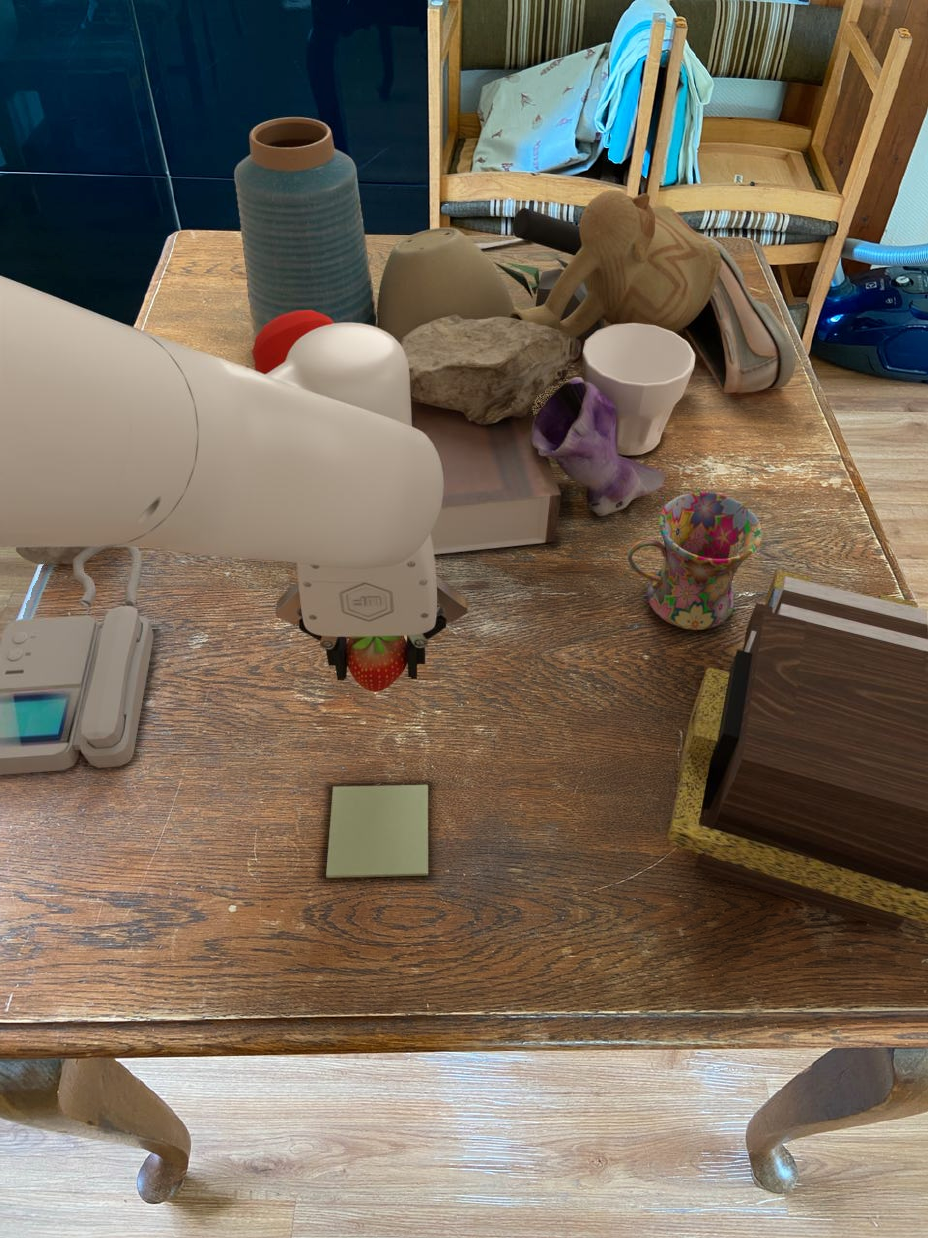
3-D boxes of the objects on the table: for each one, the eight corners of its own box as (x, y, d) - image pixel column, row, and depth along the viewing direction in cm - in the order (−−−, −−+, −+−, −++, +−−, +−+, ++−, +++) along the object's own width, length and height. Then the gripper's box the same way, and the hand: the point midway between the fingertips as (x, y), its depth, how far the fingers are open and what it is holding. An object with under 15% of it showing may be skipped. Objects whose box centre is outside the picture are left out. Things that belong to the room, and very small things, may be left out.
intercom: (158, 525, 90) (118, 738, 74) (168, 556, 94) (132, 765, 78) (22, 533, 90) (-48, 749, 74) (38, 563, 93) (-26, 776, 77)
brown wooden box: (706, 624, 90) (650, 886, 70) (743, 508, 79) (691, 777, 59) (929, 681, 85) (938, 977, 65) (999, 567, 75) (1036, 877, 55)
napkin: (428, 875, 71) (428, 873, 71) (326, 878, 71) (325, 876, 71) (428, 787, 77) (427, 784, 76) (333, 789, 76) (332, 786, 76)
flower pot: (325, 265, 111) (354, 358, 119) (434, 265, 101) (459, 368, 108) (417, 215, 121) (439, 304, 128) (526, 210, 110) (543, 308, 118)
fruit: (360, 656, 80) (352, 595, 74) (416, 666, 79) (413, 605, 73) (341, 704, 77) (331, 644, 71) (400, 715, 76) (395, 656, 70)
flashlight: (639, 255, 133) (640, 288, 133) (508, 211, 120) (508, 248, 119) (665, 242, 129) (665, 276, 129) (531, 195, 115) (532, 233, 115)
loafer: (691, 205, 122) (628, 222, 121) (811, 331, 106) (740, 353, 105) (681, 274, 131) (622, 291, 130) (791, 401, 115) (725, 422, 113)
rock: (411, 452, 100) (587, 403, 95) (379, 372, 95) (562, 316, 89) (433, 394, 113) (589, 348, 108) (406, 321, 108) (567, 269, 103)
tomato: (319, 284, 88) (342, 332, 86) (350, 352, 98) (371, 397, 96) (228, 326, 88) (248, 376, 86) (269, 390, 98) (288, 436, 96)
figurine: (539, 476, 91) (634, 542, 99) (605, 394, 89) (697, 469, 97) (508, 441, 99) (598, 505, 107) (568, 364, 96) (656, 436, 104)
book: (506, 388, 114) (508, 342, 109) (555, 541, 96) (560, 494, 91) (312, 405, 112) (305, 359, 107) (324, 566, 93) (317, 519, 88)
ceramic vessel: (764, 252, 108) (642, 227, 91) (668, 384, 120) (544, 384, 103) (674, 171, 114) (544, 134, 97) (592, 304, 126) (464, 292, 110)
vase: (232, 341, 121) (187, 128, 101) (332, 300, 128) (309, 93, 108) (301, 396, 113) (268, 176, 93) (404, 349, 120) (393, 135, 100)
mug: (718, 565, 94) (742, 487, 86) (748, 633, 88) (777, 555, 80) (605, 576, 93) (619, 498, 85) (628, 646, 87) (646, 568, 79)
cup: (670, 403, 112) (688, 323, 104) (683, 468, 104) (703, 386, 96) (570, 401, 112) (579, 320, 104) (575, 465, 104) (585, 383, 96)
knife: (555, 230, 142) (555, 225, 141) (561, 236, 140) (561, 231, 140) (438, 251, 139) (437, 246, 138) (442, 258, 137) (442, 252, 136)
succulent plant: (483, 348, 120) (485, 287, 114) (501, 273, 133) (503, 215, 127) (602, 358, 119) (610, 298, 112) (608, 281, 132) (616, 223, 125)
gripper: (228, 543, 60) (271, 704, 73) (487, 539, 60) (481, 700, 74) (243, 470, 65) (280, 633, 78) (482, 467, 65) (478, 630, 79)
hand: (378, 664), depth 76 cm, fingers closed on fruit, 5 cm apart
